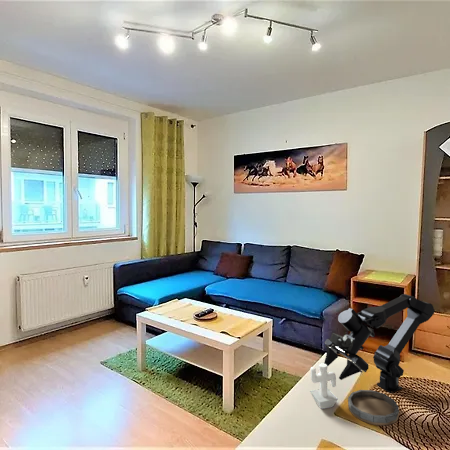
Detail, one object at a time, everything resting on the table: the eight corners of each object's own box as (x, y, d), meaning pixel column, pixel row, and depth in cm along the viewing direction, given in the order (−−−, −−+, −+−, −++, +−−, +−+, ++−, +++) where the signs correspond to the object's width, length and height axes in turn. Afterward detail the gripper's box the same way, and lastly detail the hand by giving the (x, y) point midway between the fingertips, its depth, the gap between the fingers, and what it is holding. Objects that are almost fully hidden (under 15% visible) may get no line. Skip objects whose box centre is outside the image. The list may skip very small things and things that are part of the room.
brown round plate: (372, 392, 125) (372, 390, 125) (409, 417, 111) (409, 414, 111) (338, 403, 119) (338, 401, 119) (373, 431, 105) (373, 428, 105)
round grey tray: (372, 391, 125) (371, 386, 125) (408, 414, 111) (408, 409, 111) (339, 401, 119) (339, 396, 119) (373, 428, 105) (373, 422, 105)
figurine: (341, 408, 117) (340, 367, 116) (316, 412, 115) (315, 371, 114) (330, 396, 124) (329, 358, 123) (307, 401, 122) (306, 361, 121)
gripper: (328, 317, 129) (303, 349, 127) (361, 335, 112) (334, 372, 109) (345, 334, 132) (321, 366, 129) (380, 353, 115) (354, 390, 112)
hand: (331, 372), depth 120 cm, fingers open, 9 cm apart
